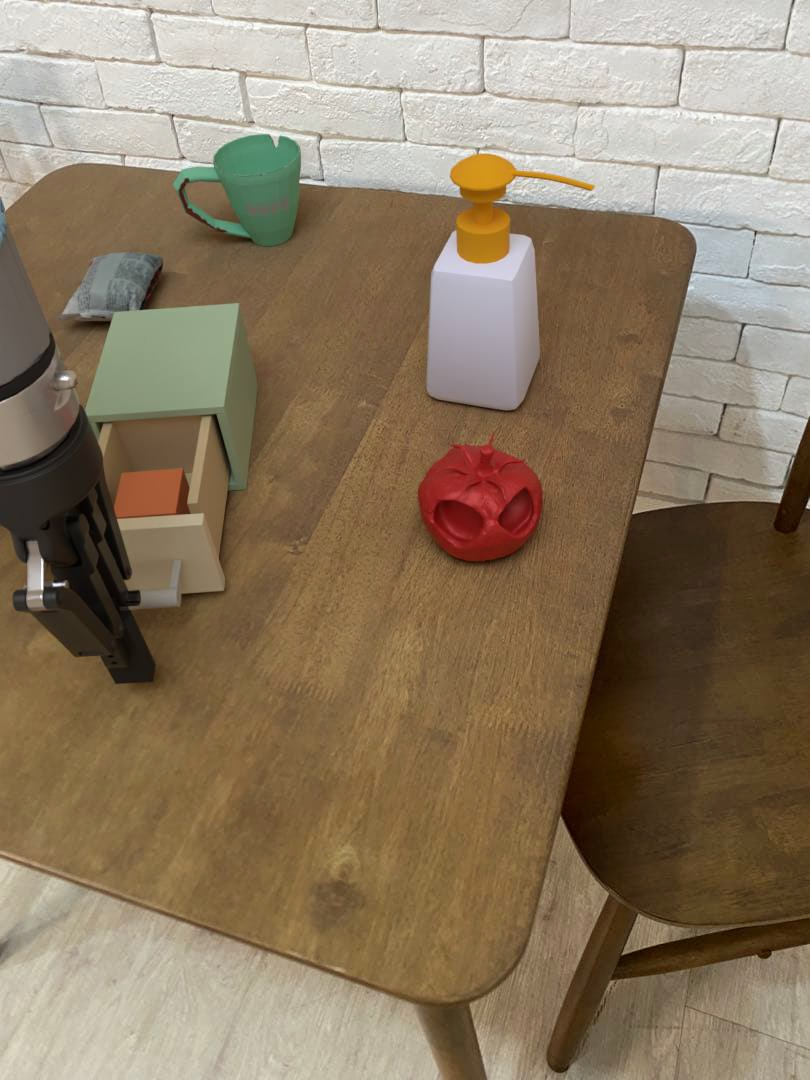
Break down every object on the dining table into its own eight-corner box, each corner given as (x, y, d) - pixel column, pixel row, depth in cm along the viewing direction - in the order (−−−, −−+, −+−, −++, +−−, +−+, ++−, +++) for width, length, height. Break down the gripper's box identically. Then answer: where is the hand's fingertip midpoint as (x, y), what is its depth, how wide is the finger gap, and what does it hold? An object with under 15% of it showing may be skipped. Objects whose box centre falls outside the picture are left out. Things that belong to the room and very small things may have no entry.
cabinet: (246, 489, 83) (223, 406, 76) (116, 498, 83) (82, 416, 76) (258, 385, 93) (239, 302, 86) (142, 393, 93) (113, 311, 86)
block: (129, 559, 76) (111, 517, 72) (138, 515, 79) (121, 472, 75) (191, 555, 76) (175, 512, 72) (197, 510, 79) (183, 467, 75)
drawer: (218, 634, 71) (195, 568, 66) (84, 642, 72) (48, 578, 66) (238, 472, 83) (220, 404, 77) (123, 480, 84) (96, 413, 78)
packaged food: (65, 337, 100) (49, 297, 97) (98, 275, 108) (85, 236, 104) (143, 338, 99) (131, 298, 96) (172, 276, 107) (161, 236, 104)
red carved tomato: (416, 493, 81) (409, 411, 74) (530, 482, 81) (534, 399, 74) (426, 581, 75) (420, 500, 68) (550, 569, 75) (557, 487, 68)
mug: (305, 208, 115) (292, 127, 108) (319, 248, 109) (307, 166, 101) (187, 229, 114) (166, 149, 106) (194, 272, 107) (172, 190, 100)
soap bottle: (565, 426, 86) (584, 199, 69) (421, 402, 89) (407, 181, 73) (586, 363, 92) (608, 140, 75) (450, 343, 95) (443, 126, 79)
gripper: (56, 511, 46) (175, 752, 63) (105, 348, 54) (198, 600, 72) (-96, 521, 46) (65, 758, 63) (-23, 357, 54) (101, 606, 72)
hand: (135, 674), depth 68 cm, fingers closed
